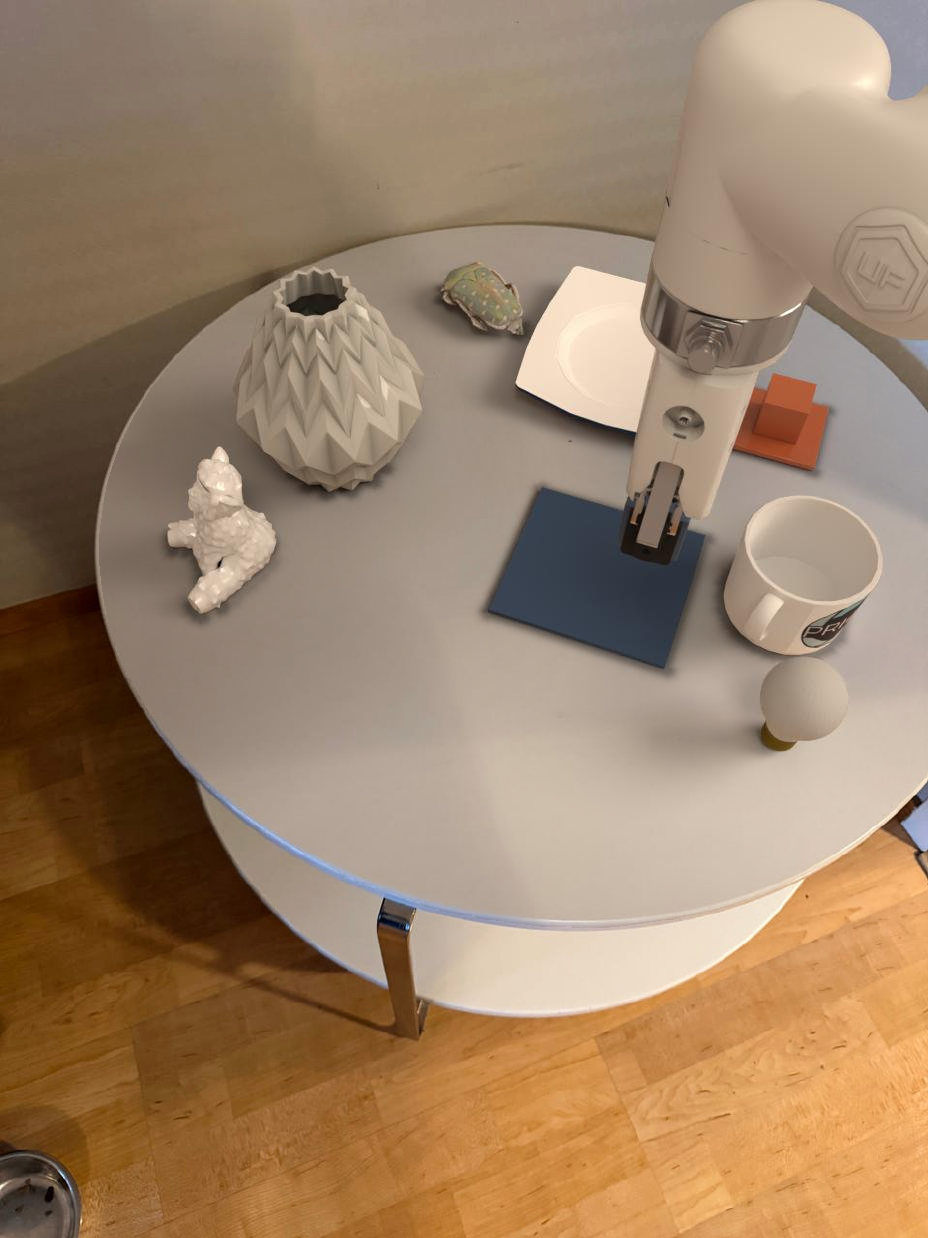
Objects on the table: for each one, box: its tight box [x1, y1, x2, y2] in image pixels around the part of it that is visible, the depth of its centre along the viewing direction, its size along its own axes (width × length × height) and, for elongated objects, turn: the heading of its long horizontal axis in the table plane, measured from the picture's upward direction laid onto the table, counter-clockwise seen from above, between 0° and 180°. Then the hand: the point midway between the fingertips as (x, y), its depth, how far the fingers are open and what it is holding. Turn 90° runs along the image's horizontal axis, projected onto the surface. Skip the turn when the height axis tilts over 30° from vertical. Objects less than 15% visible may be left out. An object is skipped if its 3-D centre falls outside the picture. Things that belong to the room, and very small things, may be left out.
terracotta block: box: [753, 372, 817, 444], centre depth 87 cm, size 4×4×4 cm
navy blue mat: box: [488, 486, 706, 669], centre depth 80 cm, size 15×14×1 cm
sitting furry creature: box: [167, 446, 277, 615], centre depth 76 cm, size 10×9×12 cm
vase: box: [232, 265, 426, 493], centre depth 79 cm, size 16×16×18 cm
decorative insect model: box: [439, 261, 525, 336], centre depth 97 cm, size 9×11×5 cm
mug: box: [723, 495, 884, 656], centre depth 75 cm, size 13×10×8 cm
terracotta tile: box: [732, 387, 830, 471], centre depth 89 cm, size 8×8×1 cm
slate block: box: [616, 495, 692, 561], centre depth 60 cm, size 4×4×4 cm
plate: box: [514, 265, 655, 436], centre depth 92 cm, size 20×20×3 cm
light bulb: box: [759, 656, 850, 752], centre depth 68 cm, size 6×6×10 cm
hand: (654, 526), depth 61 cm, fingers closed on slate block, 4 cm apart
